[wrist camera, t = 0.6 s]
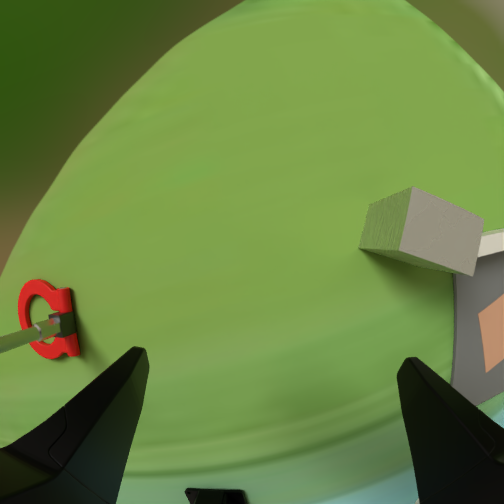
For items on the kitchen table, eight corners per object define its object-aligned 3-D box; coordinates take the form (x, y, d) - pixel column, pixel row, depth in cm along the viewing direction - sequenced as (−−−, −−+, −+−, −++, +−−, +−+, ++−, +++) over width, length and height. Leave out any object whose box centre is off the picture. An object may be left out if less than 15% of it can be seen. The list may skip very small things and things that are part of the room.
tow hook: (32, 350, 25) (86, 361, 24) (-50, 383, 13) (-9, 412, 11) (20, 279, 25) (72, 277, 24) (-70, 291, 12) (-40, 294, 11)
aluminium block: (416, 266, 21) (472, 276, 13) (358, 247, 22) (398, 250, 14) (426, 225, 21) (484, 219, 13) (369, 204, 22) (412, 186, 14)
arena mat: (527, 373, 20) (530, 375, 19) (445, 416, 21) (448, 418, 21) (535, 235, 20) (538, 235, 19) (451, 256, 21) (455, 256, 20)
